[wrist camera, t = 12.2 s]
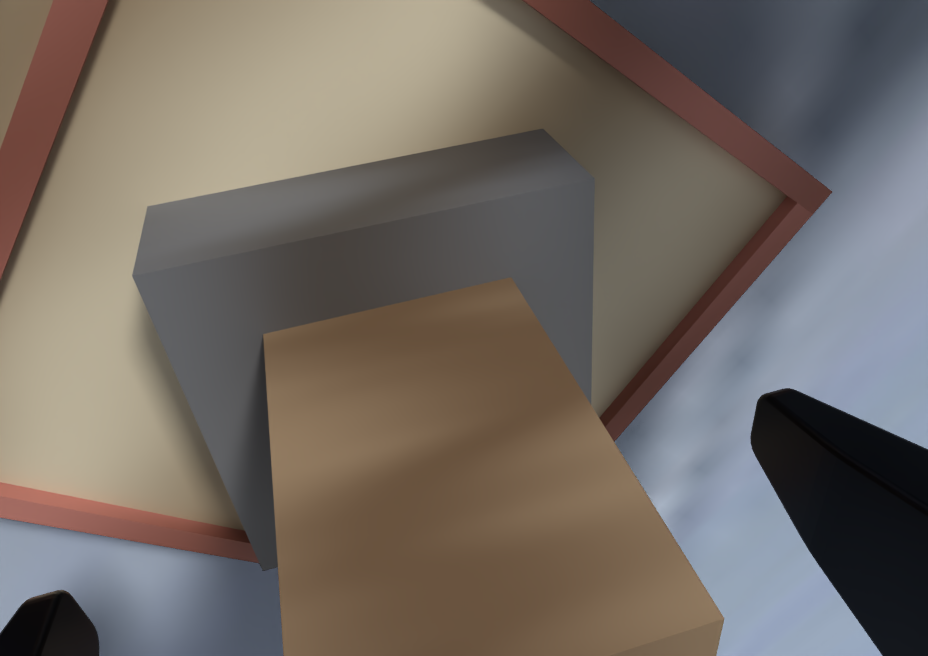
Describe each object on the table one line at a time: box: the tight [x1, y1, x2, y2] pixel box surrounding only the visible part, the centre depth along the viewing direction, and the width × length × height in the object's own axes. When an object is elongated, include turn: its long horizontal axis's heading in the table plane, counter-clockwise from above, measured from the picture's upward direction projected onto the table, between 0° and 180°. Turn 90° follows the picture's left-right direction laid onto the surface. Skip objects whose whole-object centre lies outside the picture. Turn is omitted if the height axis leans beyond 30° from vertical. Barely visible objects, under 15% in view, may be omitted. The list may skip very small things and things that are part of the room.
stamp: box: [132, 129, 724, 656], centre depth 9 cm, size 6×6×8 cm
